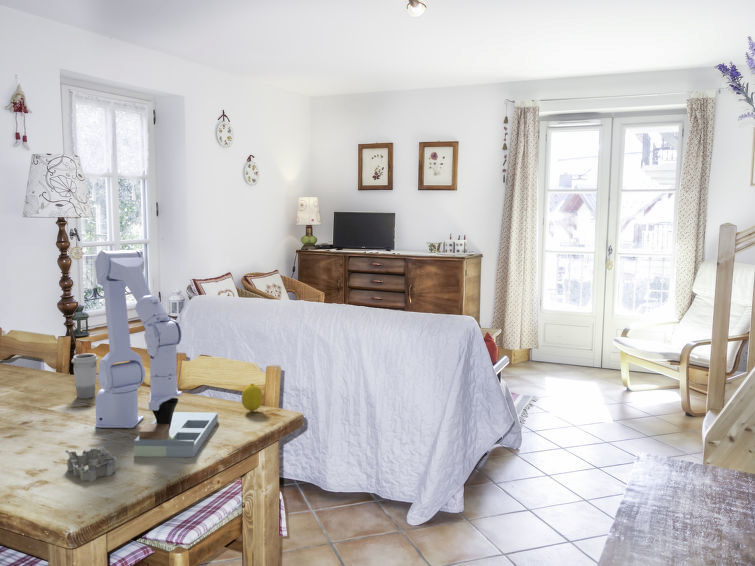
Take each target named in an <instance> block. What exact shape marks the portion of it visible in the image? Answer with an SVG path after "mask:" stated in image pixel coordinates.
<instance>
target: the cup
mask: <svg viewBox="0 0 755 566" xmlns="http://www.w3.org/2000/svg"><path fill="white" fill-rule="evenodd" d="M98 361H99V357H98V356H97V354H96V353H87V352H86V353H78V354H75V355H73V357H72V359H71V363H72V364H73V367H72V368H73V377H74V384H75V389H76V390H75V391H76V397H77V399H85V400H86V399H90V398H95V396H96V384H97V374H98V373H97V370H98V364H97V362H98Z"/></svg>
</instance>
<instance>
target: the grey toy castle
mask: <svg viewBox="0 0 755 566" xmlns="http://www.w3.org/2000/svg"><path fill="white" fill-rule="evenodd" d="M65 453H67V454H68V457H69V458H68V459H67V460H66V466H67V470H68V471H69V472H71V471H73V475H74V476H80V477H79V479H80V481H83V482H85V481H89V482H92V481H95V480H96V479H97V478H98V477H100V476H107V477H108V476H111V475H113V473H114V472H116V468H117V467H116V459H117V458H118V457H116V456H114V455H113V454H112V452H110V451H109V450H107V449H106V448H105V447H104V446H100V447H97V448H90V449H89V450H85V449H83V451H82V453H81V454H77V453H76V451H74V450H73V451H69V450H68V449H66V450H65ZM86 464H87V465H86Z"/></svg>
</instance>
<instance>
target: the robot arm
mask: <svg viewBox="0 0 755 566" xmlns="http://www.w3.org/2000/svg"><path fill="white" fill-rule="evenodd" d="M94 267H95V276H96V277H95V278H96V282H97V285H99V286H101V287H103V297H104V307H105V318H106V325H107V326H106V327H107V337H108V339H107V340H108V345H109V346H108V347H109V352H107V353H106V354H105V355H104V356H103V357H102V358H101V359H100V360H98V373H97V374H98V375H97V378H98V379H97V380H98V384H99V386H100V389H99V390H98V391H97V394H96V395H95V396H96V398H95V425H94V428H105V429H106V428H110V429H111V428H112V429H114V428H115V429H116V428H117V429H124V428H125V429H133V428H135V426H137V425H138V424H139V422H141V421H142V420H143V419H144V417H145V416H144V415H139V404H138V401H139V399H138V396H139V395H138V393H139V392H138V389H139V388H141V384H143V383H144V380H145V377H146V370H145V366H144V363H143V359H142V356H141V354H139V353H137V352H135V351H134V350H132V345H131V335H130V334H131V333H130V327H129V316H128V307H127V306H128V305H127V296H126V287H127V288H128V290H129V291H130V293H131V295H132V296H133V297H134V299H135V301H136V304H135V309H134V310H135V312H136V314H137V315H138V318H139V319H140V321H141V324H142V325H143V327H144V334H143V335H144V342H145V344H146V352H147V354H148V355H149V379H150V381H149V383H150V392H149V401H148V411H151V412H152V413H153V415H154V419H156V421H157V424H169V429H170V426H171V421H172V416H173V412H175V409H176V407H177V405H178V403H179V398H178V397H181V396H182V395H183V391H182V390H178V379H177V378H178V377H177V373H178V372H177V370H178V369H177V367H178V366H177V365H178V364H177V346H178V345H179V344H180V342H181V341H182V328H181V326H180V324H179V322H178V321H177V320H176V319H174V318H173V317H171V316H170V317H169V315H168V314H167V311H166V309H165V307H164V305H163V304H162V302H161V300H160V298H159V297H158V296H155V295H153V294H152V293H151V290H150V287H149V284H148V282H147V280H146V278H145V275H144V270H145V259H144V255H143V253H142V252H141V251H140V250H139V249H132V250H100V251H99V252H98V254H97V255H96V258H95V260H94Z"/></svg>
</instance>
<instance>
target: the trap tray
mask: <svg viewBox="0 0 755 566" xmlns="http://www.w3.org/2000/svg"><path fill="white" fill-rule="evenodd" d="M218 416H219V415H218V412H201V411H200V412H199V411H198V412H197V411H194V412H192V411H188V412H187V411H179V412H178V411H174V412H173V416H172V421H171V426H170V429H169V437H168V439H167V440H159V439H139V435H138V436H137V437H136V438H134V440H133V456H134V457H160V458H161V457H166V458H167V457H169V458H170V457H171V458H172V457H173V458H174V457H176V458H190V457H191V458H194V457H195V455H196V454H197V452H198V451H199V450H200V449H201V447H202V445H203V444H204V442H205V441H206V439H207V438H208V436H209V435H210V433H211V432H212V431H213V429H214V428H215V427H216V424H218V422H219V420H218V418H219V417H218ZM150 424H157V421H156V418H154V420H153V421H151V422H150Z"/></svg>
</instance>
